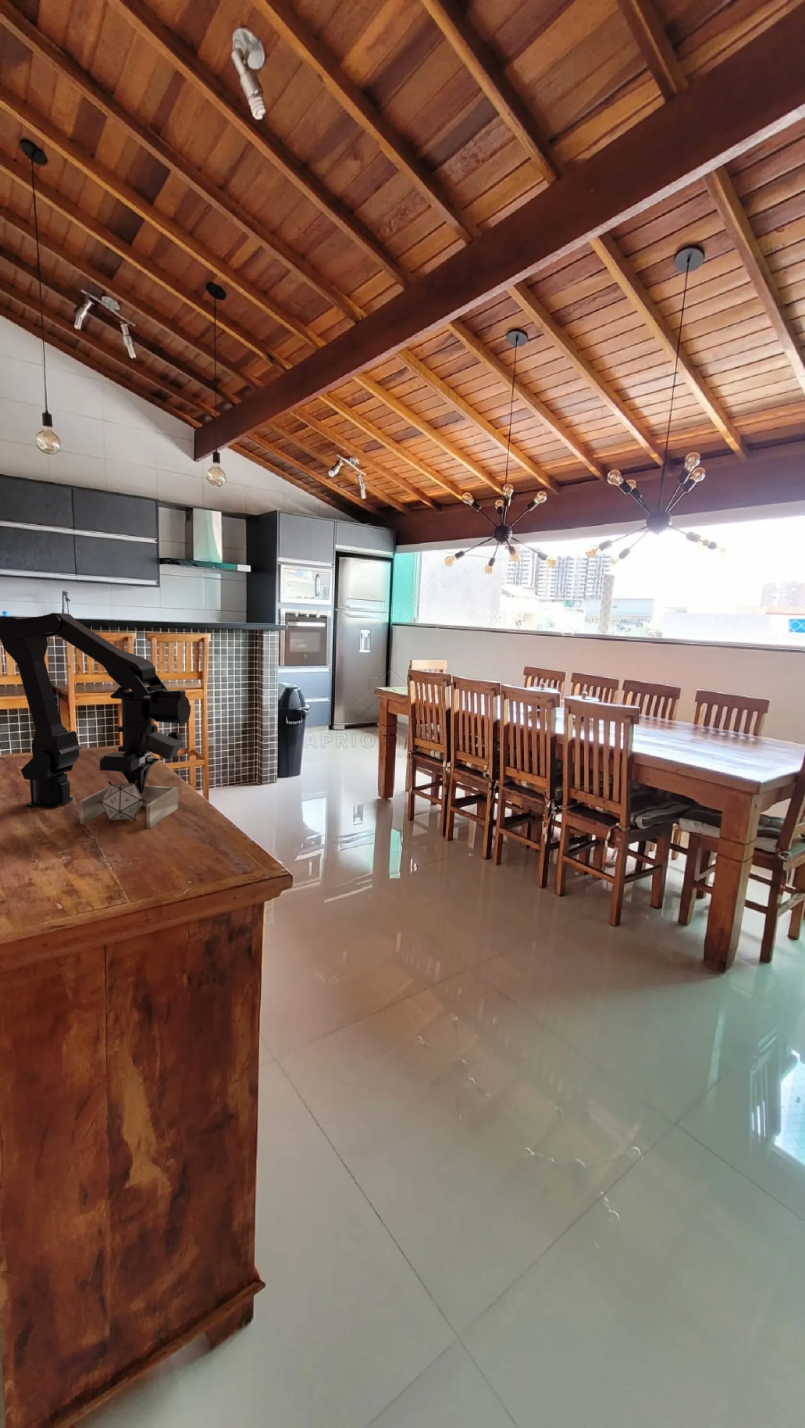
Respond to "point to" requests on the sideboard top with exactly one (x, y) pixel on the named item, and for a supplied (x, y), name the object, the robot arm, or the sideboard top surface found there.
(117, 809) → the game die
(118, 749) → the robot arm
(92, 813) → the cubby
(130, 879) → the sideboard top surface
